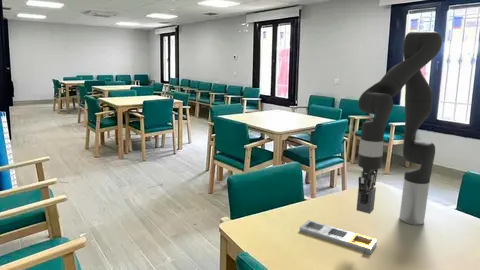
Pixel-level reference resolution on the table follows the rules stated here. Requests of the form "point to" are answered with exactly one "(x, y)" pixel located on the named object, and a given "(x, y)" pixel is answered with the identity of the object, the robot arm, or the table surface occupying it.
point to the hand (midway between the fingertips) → (365, 201)
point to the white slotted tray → (340, 236)
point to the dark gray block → (370, 203)
